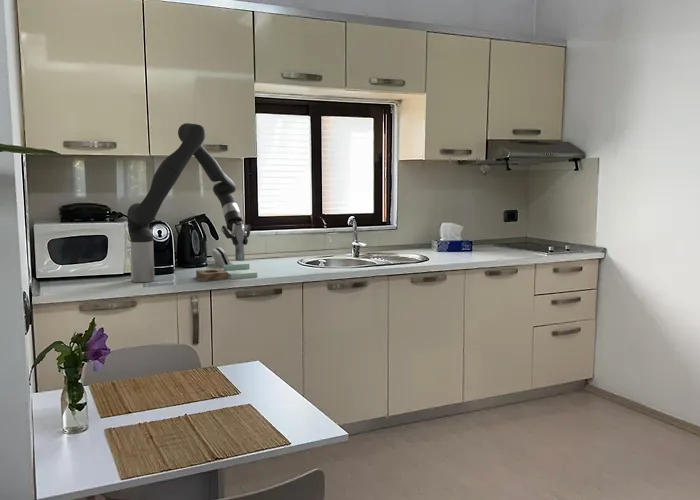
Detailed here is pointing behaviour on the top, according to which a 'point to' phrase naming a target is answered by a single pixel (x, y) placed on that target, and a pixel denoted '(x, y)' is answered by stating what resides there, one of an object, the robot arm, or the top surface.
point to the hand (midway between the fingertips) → (241, 244)
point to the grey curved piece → (220, 257)
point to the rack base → (239, 271)
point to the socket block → (211, 274)
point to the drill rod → (239, 241)
